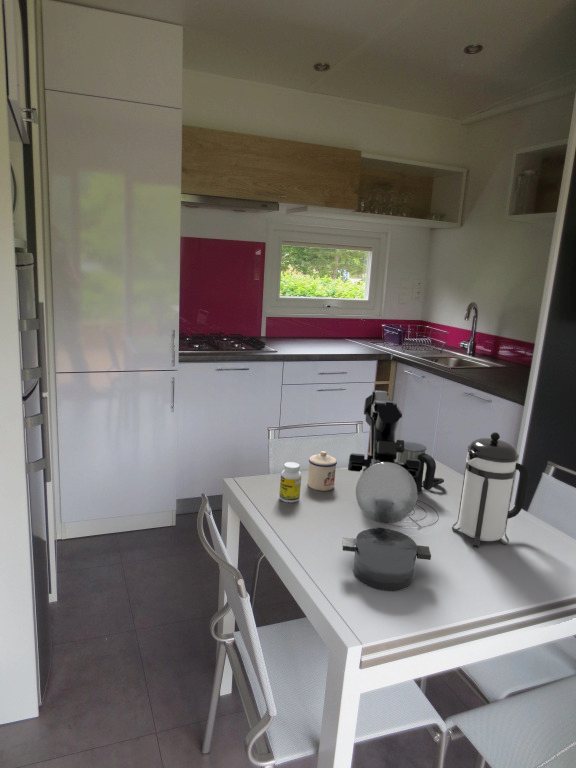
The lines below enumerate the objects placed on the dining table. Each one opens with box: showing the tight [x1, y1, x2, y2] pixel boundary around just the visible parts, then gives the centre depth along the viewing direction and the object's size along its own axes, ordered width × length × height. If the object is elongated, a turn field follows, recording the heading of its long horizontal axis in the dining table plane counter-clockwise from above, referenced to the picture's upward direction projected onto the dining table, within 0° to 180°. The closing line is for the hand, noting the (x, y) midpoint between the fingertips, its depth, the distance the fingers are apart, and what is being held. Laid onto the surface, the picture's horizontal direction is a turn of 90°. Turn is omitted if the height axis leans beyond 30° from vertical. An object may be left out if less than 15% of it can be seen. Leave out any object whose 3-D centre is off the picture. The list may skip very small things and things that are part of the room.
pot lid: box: [355, 462, 418, 525], centre depth 134 cm, size 15×15×2 cm
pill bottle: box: [279, 461, 302, 504], centre depth 163 cm, size 6×6×11 cm
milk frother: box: [396, 441, 445, 494], centre depth 178 cm, size 14×16×15 cm
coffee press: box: [451, 432, 529, 549], centre depth 146 cm, size 17×16×30 cm
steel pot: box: [342, 527, 432, 592], centre depth 126 cm, size 15×20×8 cm
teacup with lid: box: [307, 450, 338, 492], centre depth 176 cm, size 12×9×12 cm
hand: (383, 495), depth 140 cm, fingers closed
